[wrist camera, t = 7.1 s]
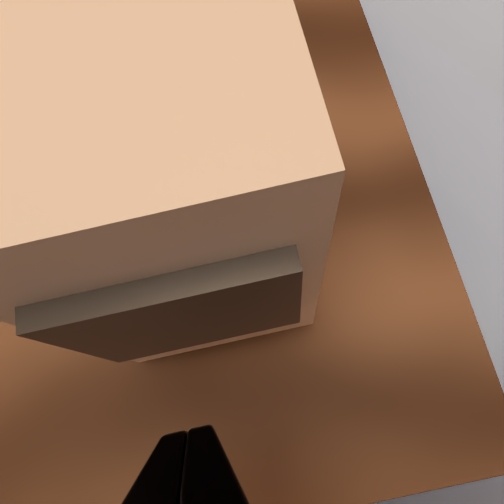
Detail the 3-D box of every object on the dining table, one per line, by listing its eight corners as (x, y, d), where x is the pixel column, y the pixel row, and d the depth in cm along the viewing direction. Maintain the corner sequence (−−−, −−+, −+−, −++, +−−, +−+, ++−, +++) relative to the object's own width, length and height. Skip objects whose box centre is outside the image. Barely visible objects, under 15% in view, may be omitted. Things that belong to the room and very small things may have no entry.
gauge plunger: (316, 337, 13) (357, 206, 5) (18, 403, 13) (-479, 394, 5) (281, 196, 15) (261, -104, 6) (12, 257, 15) (-378, 47, 6)
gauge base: (506, 462, 13) (742, 521, 6) (-40, 580, 14) (-399, 764, 7) (339, -11, 19) (365, -255, 12) (-41, 78, 20) (-233, -111, 12)
